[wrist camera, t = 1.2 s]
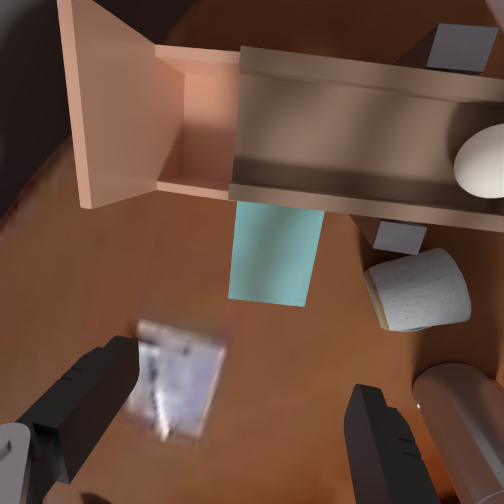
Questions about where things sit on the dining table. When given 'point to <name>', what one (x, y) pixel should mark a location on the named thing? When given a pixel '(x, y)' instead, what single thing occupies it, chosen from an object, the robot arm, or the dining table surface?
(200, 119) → the cup
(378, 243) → the pivot stand
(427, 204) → the lever board
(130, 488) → the dining table surface
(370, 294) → the ceramic mug
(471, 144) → the ball
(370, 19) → the dining table surface
